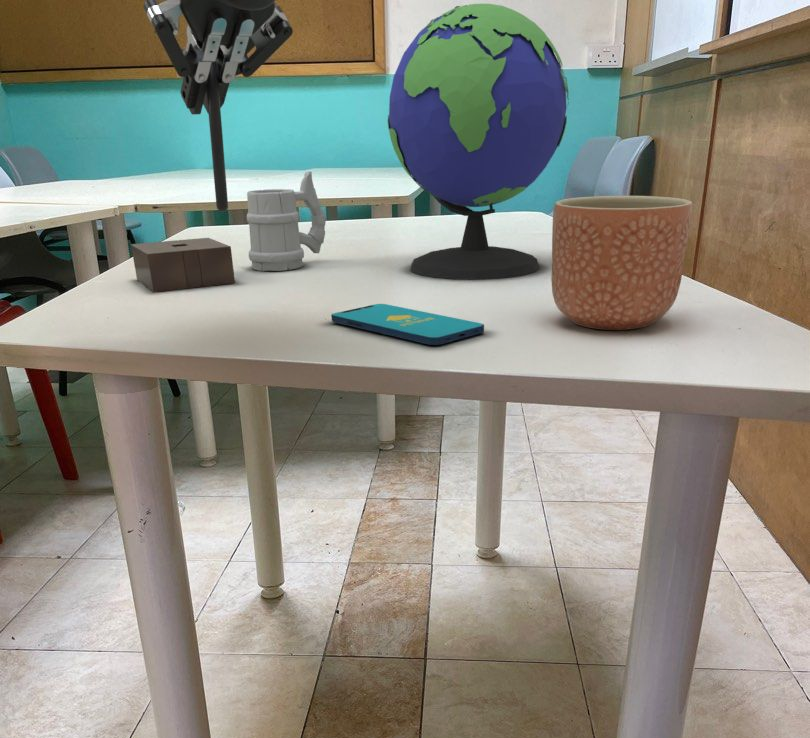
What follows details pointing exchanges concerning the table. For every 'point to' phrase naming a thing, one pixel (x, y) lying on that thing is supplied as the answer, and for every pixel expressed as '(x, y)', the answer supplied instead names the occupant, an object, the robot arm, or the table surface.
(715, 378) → the table surface
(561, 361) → the table surface
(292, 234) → the mug
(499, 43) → the globe
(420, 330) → the smartphone
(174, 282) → the pen stand
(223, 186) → the stylus
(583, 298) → the planter
